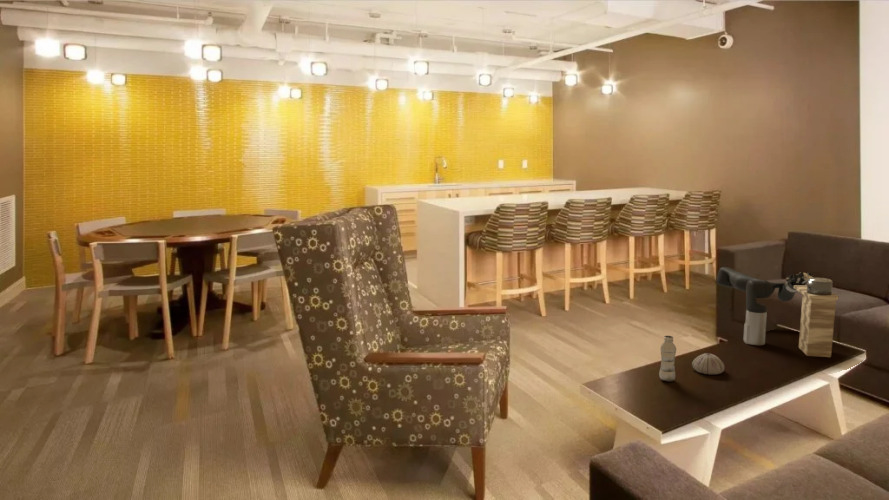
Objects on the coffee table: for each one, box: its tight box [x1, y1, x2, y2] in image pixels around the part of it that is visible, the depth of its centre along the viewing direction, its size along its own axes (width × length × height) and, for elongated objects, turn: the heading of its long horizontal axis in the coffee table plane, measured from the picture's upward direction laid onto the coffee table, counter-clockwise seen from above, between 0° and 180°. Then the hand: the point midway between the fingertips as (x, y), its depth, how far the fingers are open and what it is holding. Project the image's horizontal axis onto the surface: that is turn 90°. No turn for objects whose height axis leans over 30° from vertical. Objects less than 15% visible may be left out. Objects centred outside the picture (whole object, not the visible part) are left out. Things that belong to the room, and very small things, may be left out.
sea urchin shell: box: [691, 352, 725, 376], centre depth 248 cm, size 13×14×8 cm
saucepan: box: [798, 272, 833, 295], centre depth 271 cm, size 29×10×7 cm, turn 164°
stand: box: [794, 284, 839, 358], centre depth 269 cm, size 22×12×30 cm, turn 164°
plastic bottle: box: [658, 335, 677, 382], centre depth 238 cm, size 6×7×20 cm
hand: (806, 273), depth 279 cm, fingers closed on saucepan, 2 cm apart
